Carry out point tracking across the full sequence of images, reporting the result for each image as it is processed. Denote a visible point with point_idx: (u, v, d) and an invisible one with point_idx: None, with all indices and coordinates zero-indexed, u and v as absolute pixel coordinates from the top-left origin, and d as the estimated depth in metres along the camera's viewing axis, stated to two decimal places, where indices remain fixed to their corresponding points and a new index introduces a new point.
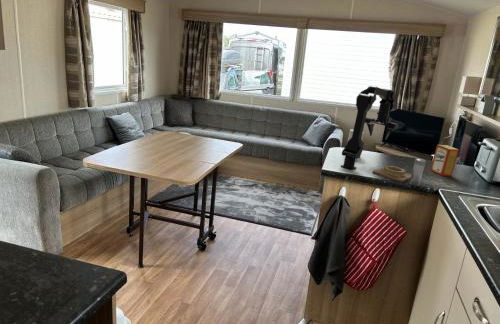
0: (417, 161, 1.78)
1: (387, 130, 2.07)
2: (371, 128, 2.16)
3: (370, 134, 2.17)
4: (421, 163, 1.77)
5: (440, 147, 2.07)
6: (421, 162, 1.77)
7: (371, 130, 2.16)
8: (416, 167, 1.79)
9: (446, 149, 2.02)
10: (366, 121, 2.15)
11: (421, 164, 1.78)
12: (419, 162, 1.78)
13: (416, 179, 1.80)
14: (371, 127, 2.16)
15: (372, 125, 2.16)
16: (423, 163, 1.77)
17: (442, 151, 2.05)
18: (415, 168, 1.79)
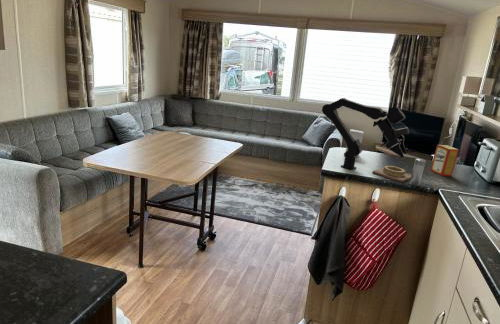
0: (417, 161, 1.78)
1: None
2: (399, 147, 1.88)
3: None
4: (421, 163, 1.77)
5: (440, 147, 2.07)
6: (421, 162, 1.77)
7: (401, 148, 1.88)
8: (416, 167, 1.79)
9: (446, 149, 2.02)
10: None
11: (421, 164, 1.78)
12: (419, 162, 1.78)
13: (416, 179, 1.80)
14: None
15: (399, 143, 1.88)
16: (423, 163, 1.77)
17: (442, 151, 2.05)
18: (415, 168, 1.79)
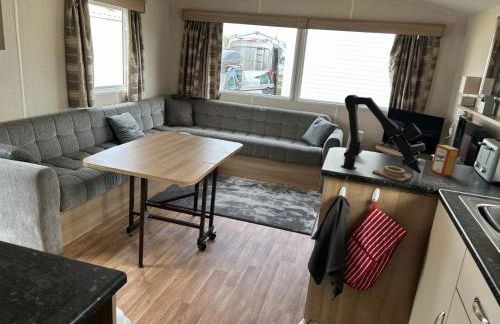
0: (417, 161, 1.78)
1: None
2: None
3: None
4: (421, 163, 1.77)
5: (440, 147, 2.07)
6: (421, 162, 1.77)
7: None
8: None
9: (446, 149, 2.02)
10: None
11: (421, 164, 1.78)
12: (419, 162, 1.78)
13: (416, 179, 1.80)
14: None
15: None
16: (423, 163, 1.77)
17: (442, 151, 2.05)
18: None
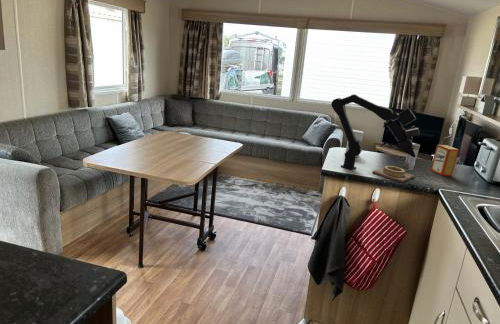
0: (412, 145, 1.81)
1: (403, 150, 1.82)
2: None
3: None
4: (416, 147, 1.80)
5: (440, 147, 2.07)
6: (416, 146, 1.80)
7: None
8: None
9: (446, 149, 2.02)
10: None
11: (416, 148, 1.81)
12: (414, 146, 1.81)
13: (411, 163, 1.83)
14: None
15: None
16: (418, 147, 1.81)
17: (442, 151, 2.05)
18: None
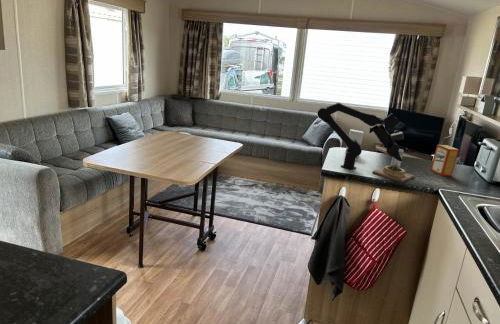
0: None
1: (390, 155, 1.86)
2: None
3: None
4: (401, 153, 1.88)
5: (440, 147, 2.07)
6: (400, 152, 1.88)
7: None
8: None
9: (446, 149, 2.02)
10: None
11: (400, 154, 1.88)
12: (399, 152, 1.88)
13: (396, 168, 1.91)
14: None
15: None
16: (402, 153, 1.89)
17: (442, 151, 2.05)
18: None
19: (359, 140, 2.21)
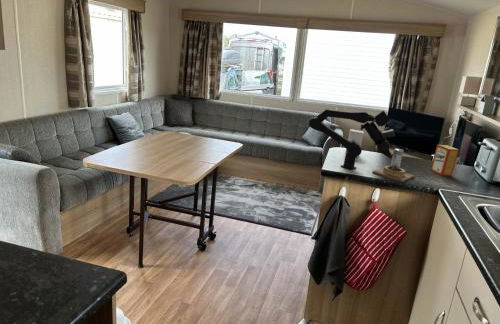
0: (396, 151, 1.89)
1: None
2: None
3: None
4: (400, 152, 1.88)
5: (440, 147, 2.07)
6: (400, 152, 1.88)
7: None
8: (396, 156, 1.89)
9: (446, 149, 2.02)
10: None
11: (400, 154, 1.89)
12: (398, 152, 1.88)
13: (396, 168, 1.91)
14: None
15: None
16: (402, 153, 1.89)
17: (442, 151, 2.05)
18: (395, 158, 1.90)
19: (359, 140, 2.21)
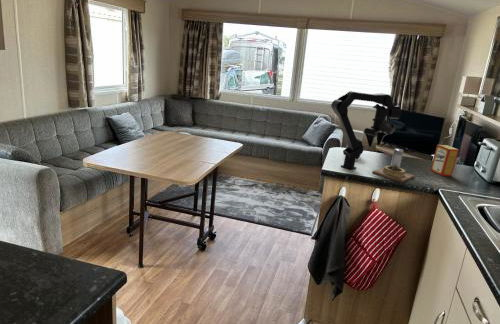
0: (396, 151, 1.89)
1: None
2: (378, 137, 2.01)
3: (377, 143, 2.01)
4: (400, 152, 1.88)
5: (440, 147, 2.07)
6: (400, 152, 1.88)
7: (378, 139, 2.01)
8: (396, 157, 1.89)
9: (446, 149, 2.02)
10: None
11: (400, 154, 1.89)
12: (398, 152, 1.88)
13: (396, 168, 1.91)
14: (379, 135, 2.01)
15: (381, 134, 2.00)
16: (402, 153, 1.89)
17: (442, 151, 2.05)
18: (395, 158, 1.90)
19: None
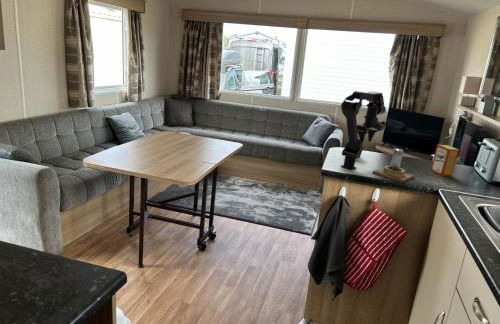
0: (396, 151, 1.89)
1: None
2: (370, 133, 2.08)
3: (368, 139, 2.09)
4: (400, 152, 1.88)
5: (440, 147, 2.07)
6: (400, 152, 1.88)
7: (369, 135, 2.08)
8: (396, 157, 1.89)
9: (446, 149, 2.02)
10: None
11: (400, 154, 1.89)
12: (398, 152, 1.88)
13: (396, 168, 1.91)
14: (370, 132, 2.08)
15: (372, 131, 2.07)
16: (402, 153, 1.89)
17: (442, 151, 2.05)
18: (395, 158, 1.90)
19: None
